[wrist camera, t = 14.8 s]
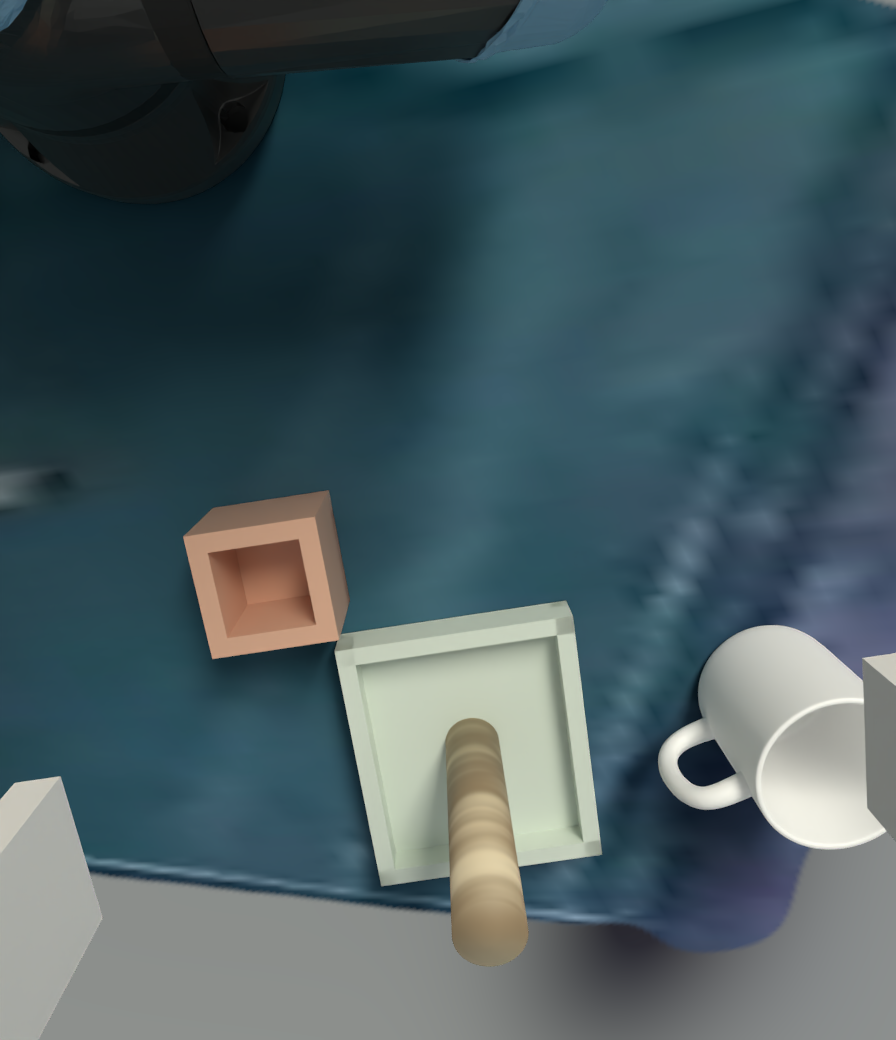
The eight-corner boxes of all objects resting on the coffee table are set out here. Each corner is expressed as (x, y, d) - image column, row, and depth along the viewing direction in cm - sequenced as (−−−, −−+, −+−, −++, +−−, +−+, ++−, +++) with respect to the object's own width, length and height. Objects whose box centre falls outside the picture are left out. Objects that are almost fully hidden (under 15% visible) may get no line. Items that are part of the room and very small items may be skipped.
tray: (339, 634, 50) (334, 651, 48) (566, 600, 50) (572, 615, 48) (383, 859, 54) (381, 886, 52) (594, 829, 54) (602, 854, 52)
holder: (212, 508, 48) (183, 536, 42) (328, 490, 48) (314, 516, 42) (237, 617, 50) (212, 659, 44) (349, 600, 50) (339, 640, 44)
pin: (441, 722, 51) (446, 907, 36) (495, 714, 51) (523, 896, 35) (449, 769, 52) (457, 971, 36) (502, 762, 52) (532, 960, 36)
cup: (847, 718, 52) (943, 815, 43) (661, 787, 53) (714, 898, 44) (809, 600, 50) (900, 673, 41) (616, 674, 51) (660, 763, 42)
